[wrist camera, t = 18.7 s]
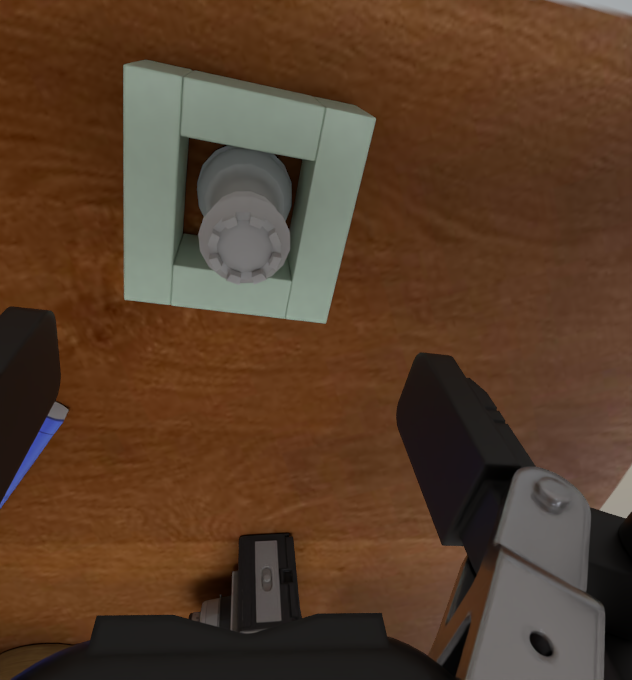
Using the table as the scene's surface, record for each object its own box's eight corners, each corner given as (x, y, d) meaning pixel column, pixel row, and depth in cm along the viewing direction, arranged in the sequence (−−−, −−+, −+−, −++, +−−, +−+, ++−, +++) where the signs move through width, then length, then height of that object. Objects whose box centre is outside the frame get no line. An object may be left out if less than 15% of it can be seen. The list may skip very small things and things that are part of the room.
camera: (188, 537, 36) (170, 688, 28) (296, 531, 37) (310, 674, 29) (197, 633, 43) (185, 775, 35) (287, 625, 45) (296, 761, 36)
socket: (356, 105, 22) (376, 118, 18) (315, 287, 26) (326, 323, 23) (143, 58, 20) (122, 63, 16) (140, 264, 24) (123, 300, 21)
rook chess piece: (299, 224, 24) (319, 295, 17) (212, 242, 24) (200, 320, 17) (281, 131, 22) (297, 172, 15) (185, 150, 22) (158, 201, 15)
